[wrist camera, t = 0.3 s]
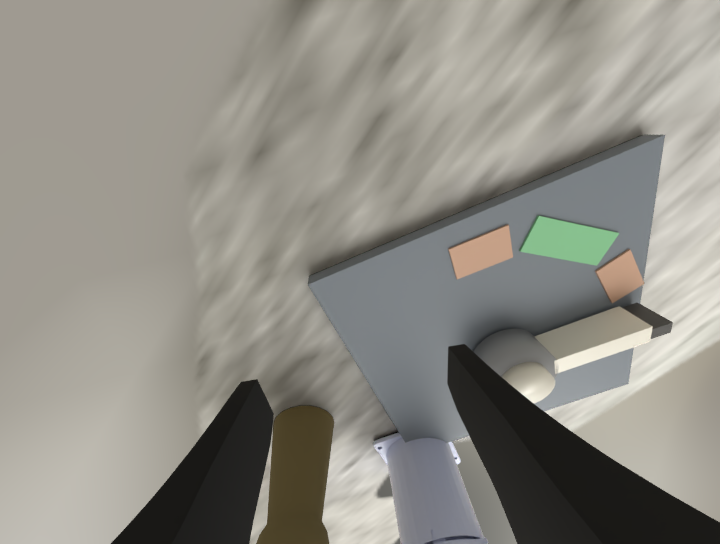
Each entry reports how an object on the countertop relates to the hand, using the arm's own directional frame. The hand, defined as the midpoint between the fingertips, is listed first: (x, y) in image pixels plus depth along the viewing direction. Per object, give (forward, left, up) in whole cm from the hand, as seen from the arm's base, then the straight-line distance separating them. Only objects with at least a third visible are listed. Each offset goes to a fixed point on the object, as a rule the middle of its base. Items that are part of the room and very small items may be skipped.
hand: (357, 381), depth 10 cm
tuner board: (-12, -9, -10) cm, 18 cm away
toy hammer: (-13, -13, -8) cm, 20 cm away
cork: (-15, +11, -10) cm, 21 cm away
